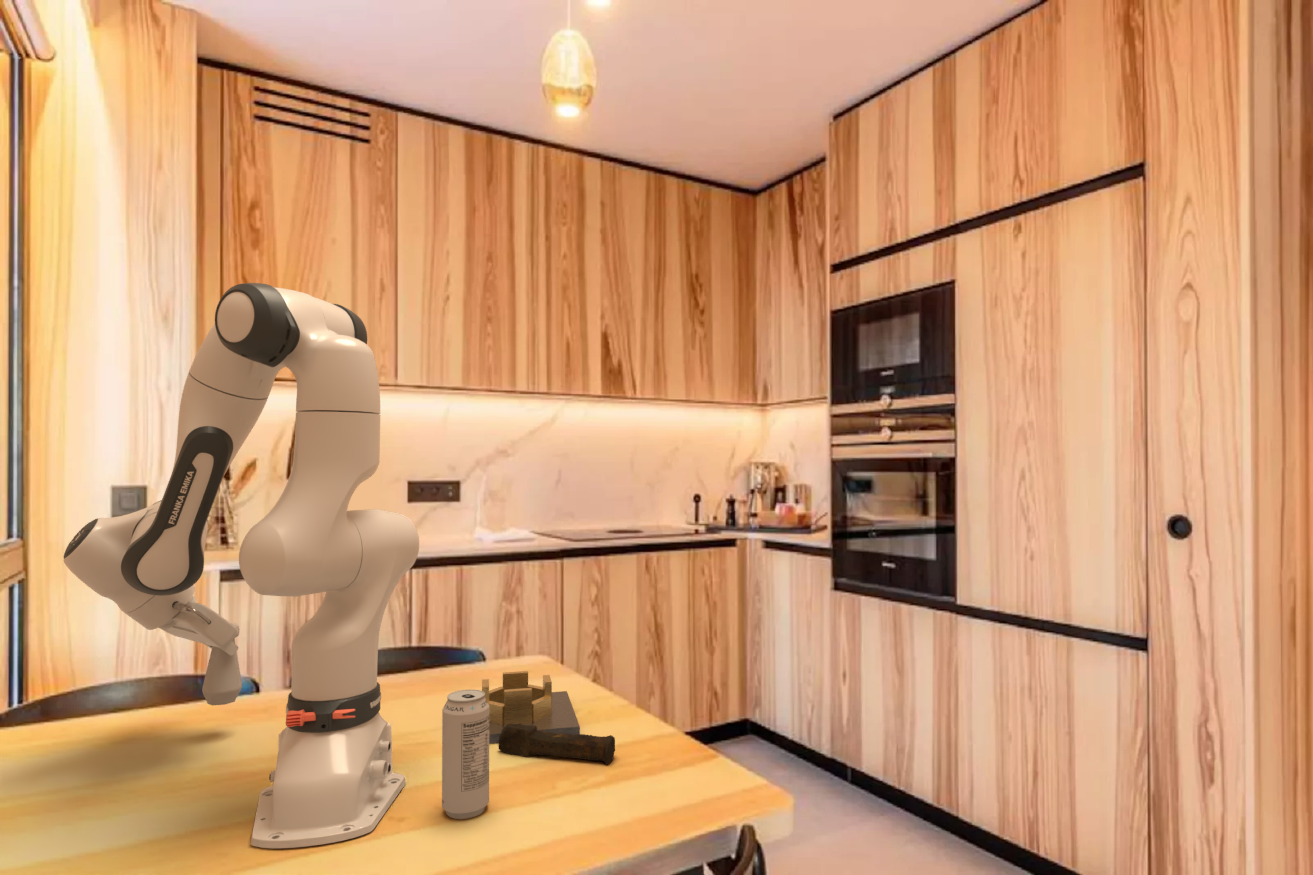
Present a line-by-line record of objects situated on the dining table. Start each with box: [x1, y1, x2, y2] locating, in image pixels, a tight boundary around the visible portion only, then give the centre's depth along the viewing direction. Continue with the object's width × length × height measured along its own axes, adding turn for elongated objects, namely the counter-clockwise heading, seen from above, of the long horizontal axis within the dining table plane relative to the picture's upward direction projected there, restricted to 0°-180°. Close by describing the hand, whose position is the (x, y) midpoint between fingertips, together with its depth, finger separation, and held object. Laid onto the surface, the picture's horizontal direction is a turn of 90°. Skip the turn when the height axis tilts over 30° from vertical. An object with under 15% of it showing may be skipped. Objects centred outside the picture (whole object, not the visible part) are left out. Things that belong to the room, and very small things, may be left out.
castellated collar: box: [481, 670, 581, 745], centre depth 131 cm, size 20×20×7 cm
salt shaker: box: [201, 622, 243, 706], centre depth 125 cm, size 6×6×13 cm
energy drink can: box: [441, 688, 490, 820], centre depth 97 cm, size 6×6×15 cm
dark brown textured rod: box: [497, 724, 616, 766], centre depth 115 cm, size 19×4×5 cm, turn 74°
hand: (227, 650), depth 126 cm, fingers closed on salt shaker, 3 cm apart
